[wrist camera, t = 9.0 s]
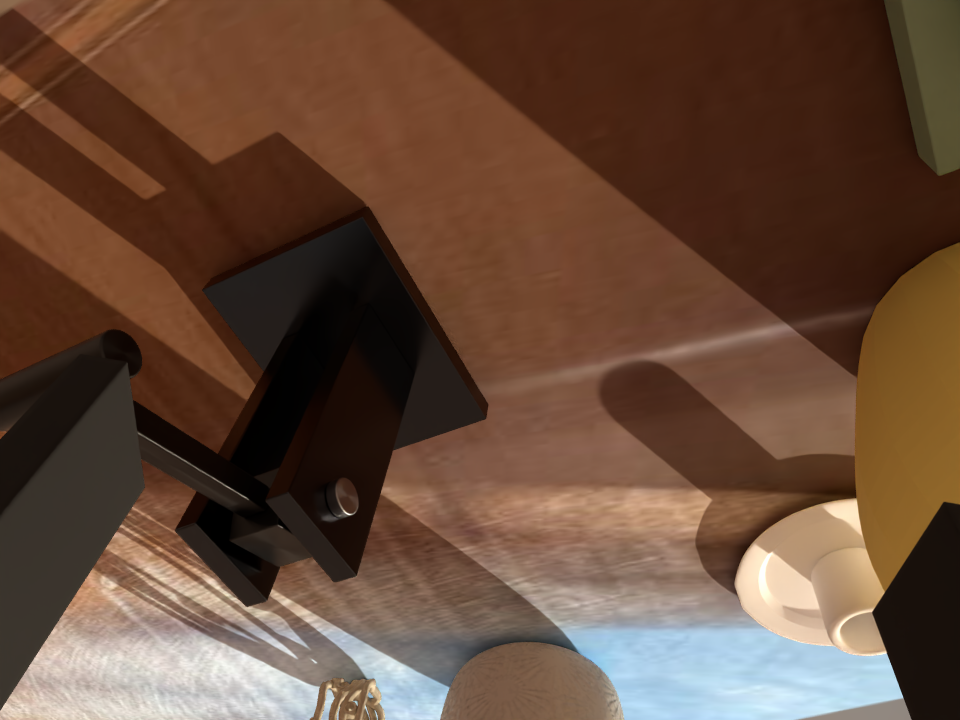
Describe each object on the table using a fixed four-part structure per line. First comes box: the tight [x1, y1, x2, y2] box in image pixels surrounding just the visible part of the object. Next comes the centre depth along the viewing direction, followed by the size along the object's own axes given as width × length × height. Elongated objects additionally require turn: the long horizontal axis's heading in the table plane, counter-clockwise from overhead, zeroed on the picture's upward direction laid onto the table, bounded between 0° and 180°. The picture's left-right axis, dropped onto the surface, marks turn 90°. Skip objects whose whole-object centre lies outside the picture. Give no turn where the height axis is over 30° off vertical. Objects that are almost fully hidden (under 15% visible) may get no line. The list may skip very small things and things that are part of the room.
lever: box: [0, 329, 312, 567], centre depth 27 cm, size 12×5×2 cm, turn 27°
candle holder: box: [734, 498, 887, 656], centre depth 43 cm, size 12×12×4 cm
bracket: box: [175, 206, 488, 607], centre depth 34 cm, size 12×9×14 cm
